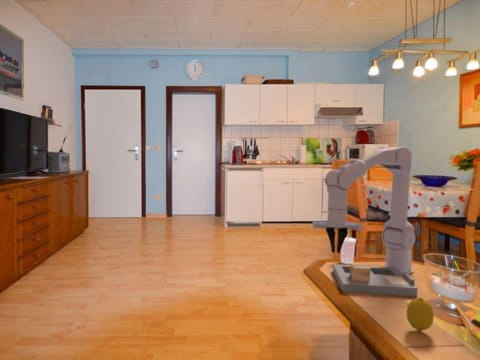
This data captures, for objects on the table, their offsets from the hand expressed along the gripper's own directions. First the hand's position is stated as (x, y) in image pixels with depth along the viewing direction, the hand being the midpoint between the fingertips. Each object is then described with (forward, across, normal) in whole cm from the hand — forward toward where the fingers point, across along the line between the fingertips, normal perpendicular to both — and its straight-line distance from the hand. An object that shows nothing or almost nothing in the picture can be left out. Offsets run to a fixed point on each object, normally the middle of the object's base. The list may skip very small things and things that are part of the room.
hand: (335, 252), depth 113 cm
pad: (+8, +19, 0) cm, 20 cm away
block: (+8, +8, 0) cm, 11 cm away
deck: (+10, +12, +4) cm, 16 cm away
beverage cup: (+11, +9, +26) cm, 30 cm away
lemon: (+11, +15, -28) cm, 34 cm away
